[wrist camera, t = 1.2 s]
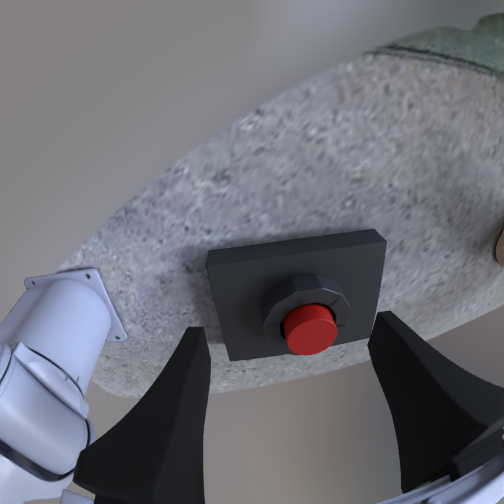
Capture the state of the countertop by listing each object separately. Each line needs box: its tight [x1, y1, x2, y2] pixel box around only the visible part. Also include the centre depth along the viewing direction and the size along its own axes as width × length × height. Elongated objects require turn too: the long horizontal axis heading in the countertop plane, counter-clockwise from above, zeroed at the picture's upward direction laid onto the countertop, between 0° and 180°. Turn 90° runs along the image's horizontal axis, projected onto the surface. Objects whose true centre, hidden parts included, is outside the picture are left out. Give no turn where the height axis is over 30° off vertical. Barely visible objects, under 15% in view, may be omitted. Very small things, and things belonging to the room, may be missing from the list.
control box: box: [206, 229, 387, 361], centre depth 22 cm, size 13×10×4 cm
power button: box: [283, 303, 337, 355], centre depth 19 cm, size 4×4×2 cm
